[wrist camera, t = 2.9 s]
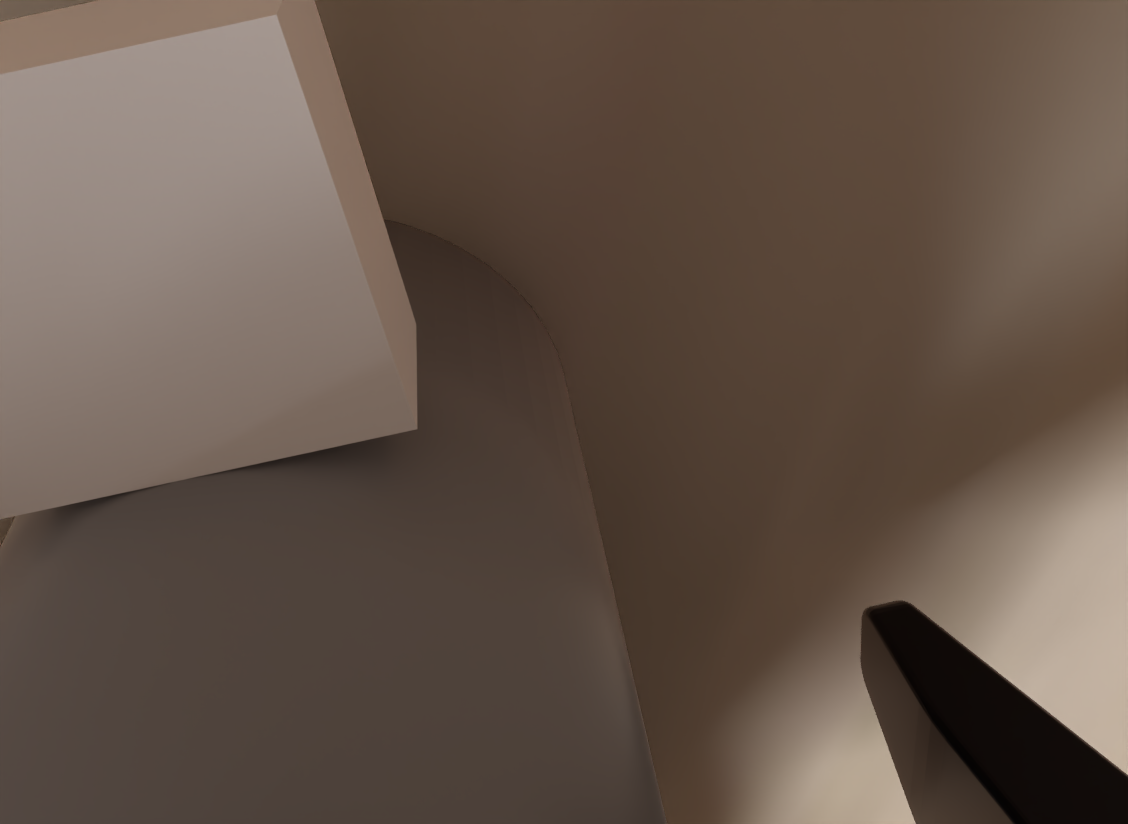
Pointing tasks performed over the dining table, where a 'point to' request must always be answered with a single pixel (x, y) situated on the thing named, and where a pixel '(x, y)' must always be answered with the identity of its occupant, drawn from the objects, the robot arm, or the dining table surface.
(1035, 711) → the robot arm
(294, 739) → the plug
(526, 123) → the dining table surface
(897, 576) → the dining table surface
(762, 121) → the dining table surface
